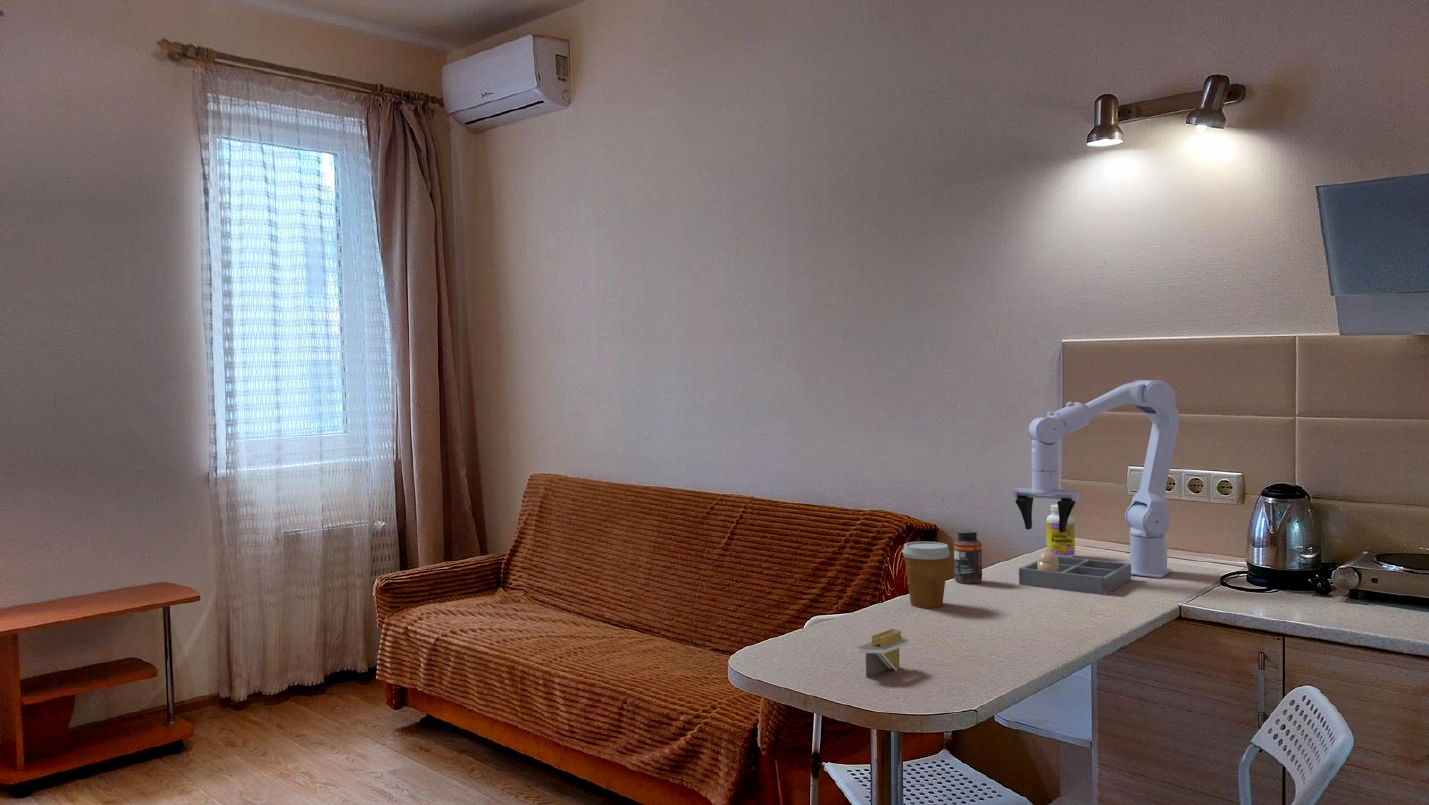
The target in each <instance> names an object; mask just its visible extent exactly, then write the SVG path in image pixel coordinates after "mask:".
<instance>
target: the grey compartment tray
mask: <svg viewBox="0 0 1429 805" xmlns="http://www.w3.org/2000/svg"><path fill="white" fill-rule="evenodd" d="M1057 557H1058V561H1059V572H1054V571H1045V570H1037V560H1035V561H1032V562H1031V563H1027V564H1026V565H1024V566H1021V567H1018V585H1022V586H1031V587H1037V588H1038V587H1039V588H1046V589H1056V590H1063V591H1070V592H1079V593H1088V594H1097V595H1103V594H1105V595H1104V596H1107V595H1109V594H1110V593H1111V592H1113V591H1114V590H1116V589H1118V588H1119V586H1120V587H1121V586H1122V585H1124V584H1126V583H1128V582H1129V581H1131V580H1132V575H1131V564H1130V563H1128V562H1117V561H1108V560H1099V559H1098V560H1096V559H1087V558H1079V557H1076V558H1075V557H1073V558H1069V557H1059V556H1057ZM1106 594H1107V595H1106Z"/></svg>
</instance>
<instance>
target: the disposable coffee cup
mask: <svg viewBox="0 0 1429 805" xmlns="http://www.w3.org/2000/svg"><path fill="white" fill-rule="evenodd" d="M901 553H902V555H903V557H904V564H905V570H906V572H905V573H906V578H907V585H908V593H909V601H910V605H911V606H913V607H916V608H921V609H922V608H925V609H930V608H931V609H933V608H941V607H942V606H943V604H944V596H945V587H946V580H947V571H948V570H947V569H948V561H949V557H950V555H951V550H950V549H949V545H948V544H946V543H943V542H937V541H911V542H906V543H904V545H903V549H902V550H901Z"/></svg>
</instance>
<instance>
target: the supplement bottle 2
mask: <svg viewBox="0 0 1429 805" xmlns="http://www.w3.org/2000/svg"><path fill="white" fill-rule="evenodd" d="M1050 511H1051V514H1049V515H1048V516H1047V517H1046V550H1045V551H1050V552H1053V553H1054V554H1055V555H1056V556H1059V557H1069V558H1075V552H1076V550H1075V548H1076V547H1075V545H1076V544H1075V543H1076V542H1075V535H1076V534H1075V533H1076V532H1075V531H1076V527H1075V526H1076V520H1075V518H1074V516H1072V515H1071V514H1070V515H1069V518H1068V521H1067V525H1066V530H1065V532H1059V510H1058V504H1051V505H1050Z"/></svg>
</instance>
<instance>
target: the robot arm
mask: <svg viewBox="0 0 1429 805" xmlns="http://www.w3.org/2000/svg"><path fill="white" fill-rule="evenodd" d="M1176 394H1177V393H1176V392H1175V390H1174V389H1173V388H1172V387H1171V386H1170V385H1169V384H1168V383H1167V382H1166V381H1165V380H1160V379H1154V380H1152V379H1151V380H1146V379H1145V380H1144V379H1136V380H1134V381H1132V382H1127V383H1124V384H1121V385H1120V386H1118V387H1116V388H1114V389H1112V390H1110V391H1108V392H1106V393H1104V394H1102V395H1100V396H1098V397H1096V398H1095V399H1092V400H1091V401H1090V400H1089V401H1088V402H1087V403H1084V404H1083V403H1081V402H1079V401H1075V402H1073V401H1069V402H1067V403H1065V407H1062V408H1060V409H1058V410H1055V411H1048V412H1047V413H1046V417H1040V416H1039V417H1035V418H1034V419H1033V420H1032V421H1031V422H1030V424H1029V426H1028V428H1027V430H1026V432H1027V433H1026V434H1027V435H1028V437H1029V438H1030V440H1031V487H1014V488H1012V492H1011V493H1012V494H1011V495H1012V498H1013V497H1014V498H1015V500H1014V501H1015V504H1016V506H1017V508H1018V509H1019V510H1020V513H1021V516H1022V519H1023V522H1024V523H1023V524H1024V528H1025V530H1031V529H1033V517H1032V516H1033V515H1032V514H1033V506H1034V505H1033V504H1034V499H1035V498H1037V499H1049V500H1050V499H1051V500H1058V501H1057V504H1058V510H1059V532H1065V530H1066V525H1067V521H1068V518H1069V515H1070V516H1071V513H1072V510H1073V508H1074V506H1075V504H1076V502H1078V501H1079V500H1080V491H1076V490H1067V489H1059V441H1060V440H1061V439H1062V437H1064V436H1066V435H1068V434H1071V433H1073V432H1075V431H1078V430H1080V429H1081V428H1083V427H1086V426H1088V425H1089V424H1090V422H1091V420H1092V418H1093V417H1095V416H1097V415H1101V414H1102V413H1105V412H1107V411H1110V410H1112V409H1115V408H1117V407H1119V406H1122V405H1133V407H1135V408H1137V409H1138V410H1140V411H1142V412H1143V413H1144V414H1145V415H1146V417H1147V418H1148V419H1149V421H1151V423H1152V425H1151V430H1150V436H1149V439H1148V443H1147V444H1148V446H1147V450H1146V455H1145V460H1144V466H1143V470H1142V474H1141V480H1140V485H1139V490H1137V491H1136V493H1134V495H1133V496H1132V500H1131V503H1130V505H1129V506H1128V507H1127V508H1126V510H1125V514H1124V519H1125V523H1126V524H1127V526H1129V528H1130V530H1129V559H1130V560H1129V564H1131V576H1138V577H1140V576H1142V577H1148V578H1149V577H1150V578H1158V579H1162V578H1163V577H1165V576H1167V575H1168V574H1170V573H1171V572H1172V571H1173V569H1172V568H1168V543H1167V540H1166V536H1165V535H1166V532H1167V531H1168V529H1169V528H1170V526H1171V525H1170V524H1171V519H1170V514H1169V510H1170V509H1169V508H1170V504H1169V502H1168V499H1167V497H1166V491H1167V485H1168V481H1169V480H1168V479H1169V477H1170V471H1171V466H1172V465H1171V464H1172V461H1173V457H1174V453H1175V452H1174V451H1175V446H1176V442H1177V435H1178V430H1179V426H1180V420H1181V416H1180V413H1179V410H1178V406H1177V403H1176V399H1175V398H1176ZM1057 504H1056V505H1057Z"/></svg>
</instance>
